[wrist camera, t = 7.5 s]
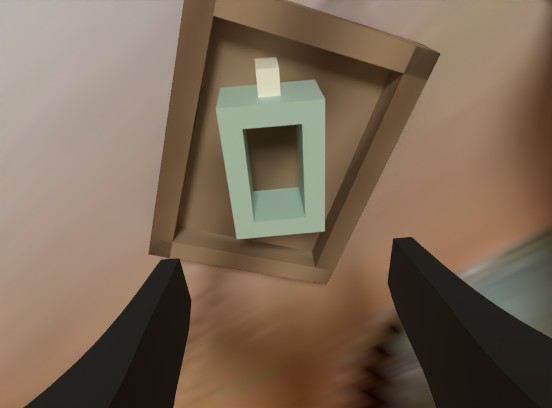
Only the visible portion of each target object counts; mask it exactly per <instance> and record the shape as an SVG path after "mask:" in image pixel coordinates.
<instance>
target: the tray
mask: <svg viewBox="0 0 552 408" xmlns="http://www.w3.org/2000/svg"><path fill="white" fill-rule="evenodd" d="M439 56H440V53H438V52H436V51H434V50H432V49H431V48H429V47H427V46H425V45H423V44H420V43H417V42H414V41H411V40H408V39H405V38H402V37H398V36H395V35H392V34H389V33H386V32H383V31H380V30H377V29H374V28H371V27H368V26H364V25H361V24H358V23H355V22H352V21H349V20H346V19H343V18H340V17H337V16H334V15H330V14H327V13H324V12H321V11H318V10H315V9H312V8H309V7H306V6H303V5H300V4H296V3H293V2H290V1H287V0H184V4H183V11H182V18H181V25H180V33H179V40H178V47H177V54H176V61H175V68H174V76H173V83H172V90H171V97H170V104H169V111H168V118H167V126H166V133H165V140H164V147H163V154H162V161H161V169H160V176H159V183H158V190H157V197H156V204H155V211H154V219H153V226H152V233H151V240H150V247H149V254H150V255H156V256H162V257H168V258H174V259H176V258H179V259H180V260H185V261H191V262H197V263H203V264H209V265H215V266H221V267H227V268H233V269H238V270H244V271H250V272H256V273H262V274H268V275H274V276H280V277H286V278H292V279H297V280H303V281H309V282H315V283H321V284H327V283H328V281H329V279H330V277H331V275H332V273H333V271H334V269H335V267H336V265H337V263H338V260H339V258H340V256H341V254H342V252H343V250H344V248H345V246H346V244H347V242H348V240H349V238H350V236H351V234H352V232H353V230H354V228H355V226H356V224H357V222H358V220H359V218H360V216H361V214H362V212H363V210H364V208H365V206H366V204H367V202H368V200H369V198H370V196H371V194H372V192H373V190H374V188H375V185H376V183H377V181H378V179H379V177H380V175H381V173H382V171H383V169H384V167H385V165H386V163H387V161H388V159H389V157H390V155H391V153H392V151H393V149H394V147H395V145H396V143H397V141H398V139H399V137H400V135H401V133H402V131H403V129H404V127H405V125H406V123H407V121H408V119H409V117H410V115H411V113H412V110H413V108H414V106H415V104H416V102H417V100H418V98H419V96H420V94H421V92H422V90H423V88H424V86H425V84H426V82H427V80H428V78H429V76H430V74H431V72H432V70H433V68H434V66H435V64H436V62H437V60H438V58H439ZM269 57H276V58H277V62H278V65H279V75H280V83H281V82H292V81H304V80H315V81H316V83H317V85H318V86H319V88H320V90H321V92H322V94H323V96H324V98H325V231H324V232H313V233H302V234H291V235H280V236H269V237H258V238H247V239H237V237H236V231H235V225H234V219H233V213H232V207H231V200H230V194H229V188H228V182H227V176H226V169H225V163H224V157H223V151H222V145H221V139H220V132H219V126H218V120H217V114H216V105H217V100H218V96H219V91H220V88H223V87H235V86H246V85H257V80H256V70H255V59H257V58H269ZM246 133H247V141H248V150H249V158H250V166H251V175H252V183H253V191H262V190H273V189H284V188H295V187H299V181H298V157H297V133H296V125H285V126H273V127H262V128H251V129H246Z"/></svg>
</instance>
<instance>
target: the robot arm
mask: <svg viewBox="0 0 552 408" xmlns="http://www.w3.org/2000/svg"><path fill="white" fill-rule="evenodd" d="M388 285H389V289H390V292H391V296H392V299H393V302H394V305H395V309H396V311H397V313H398V316H399V318H400V320H401V323H402V325H403V327H404V329H405V332H406V334H407V336H408V338H409V340H410V343H411V345H412V347H413V349H414V352H415V354H416V356H417V358H418V360H419V363H420V365H421V367H422V369H423V372H424V374H425V377H426V379H427V382H428V384H429V387H430V390H431V393H432V396H433V399H434V402H435V405H436V408H552V338H550V337H548V336H546V335H545V334H543V333H541V332H539V331H537V330H536V329H534V328H532V327H530V326H529V325H527V324H525V323H523V322H522V321H520V320H519V319H517V318H515V317H514V316H512V315H511V314H509V313H508V312H506V311H504V310H503V309H501V308H500V307H498V306H497V305H495V304H494V303H492V302H491V301H489V300H488V299H487V298H485V297H484V296H483V295H481V294H480V293H478V292H477V291H476V290H474V289H473V288H472V287H470V286H469V285H468V284H466V283H465V282H464V281H463V280H461V279H460V278H459V277H458V276H456V275H455V274H454V273H453V272H451V271H450V270H449V269H448V268H447V267H445V266H444V265H443V264H442V263H441V262H440V261H438V260H437V259H436V258H435V257H434V256H433V255H431V254H430V253H429V252H428V251H427V250H426V249H425V248H423V247H422V246H421V245H420V244H419V243H418V242H417V241H416V240H414V239H413V238H412V237H406V238H395V239H393V245H392V252H391V260H390V268H389V276H388ZM190 312H191V298H190V294H189V291H188V287H187V284H186V280H185V276H184V273H183V269H182V266H181V262H180V259H179V258H176V259H165V260H161V261H160V262H159V263H158V264H157V266H156V267H155V269H154V270H153V271H152V273H151V274H150V276H149V277H148V278H147V280H146V281H145V283H144V284H143V285H142V287H141V288H140V289H139V291H138V292H137V293H136V295H135V296H134V297H133V299H132V300H131V301H130V303H129V304H128V305H127V306H126V308H125V309H124V310H123V312H122V313H121V314H120V315H119V316H118V318H117V319H116V320H115V321H114V322H113V323H112V325H111V326H110V327H109V328H108V329H107V331H106V332H105V333H104V334H103V335H102V336H101V337H100V338H99V340H98V341H97V342H96V343H95V344H94V345H93V346H92V347H91V348H90V349H89V350H88V351H87V352H86V353H85V354H84V355H83V356H82V357H81V358H80V359H79V360H78V361H77V362H76V363H75V364H74V365H73V366H72V367H71V368H70V369H68V370H67V371H66V372H65V373H64V374H63V375H62V376H61V377H60V378H58V379H57V380H56V381H55V382H54V383H53V384H52V385H51V386H50V387H48V388H47V389H46V390H45V391H44V392H42V393H41V394H40V395H39V396H38V397H36V398H35V399H34V400H33V401H31V402H30V403H29V404H28V405H26V406H25V407H24V408H173V406H174V400H175V394H176V389H177V385H178V380H179V375H180V370H181V366H182V361H183V356H184V351H185V346H186V341H187V337H188V331H189V323H190Z"/></svg>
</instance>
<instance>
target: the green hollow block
mask: <svg viewBox="0 0 552 408" xmlns="http://www.w3.org/2000/svg"><path fill="white" fill-rule="evenodd" d="M255 70H256V80H257V85H246V86H235V87H223V88H220V91H219V96H218V100H217V105H216V114H217V120H218V126H219V132H220V139H221V145H222V151H223V157H224V163H225V169H226V176H227V182H228V188H229V194H230V200H231V207H232V213H233V219H234V225H235V231H236V237H237V239H247V238H258V237H269V236H280V235H291V234H302V233H313V232H324V231H325V98H324V96H323V94H322V92H321V90H320V88H319V86H318V85H317V83H316V81H315V80H304V81H292V82H281V83H280V75H279V65H278V62H277V58H276V57H269V58H257V59H255ZM285 125H296V133H297V157H298V181H299V187H295V188H284V189H273V190H262V191H253V183H252V175H251V166H250V158H249V150H248V141H247V133H246V129H251V128H262V127H273V126H285Z"/></svg>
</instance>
